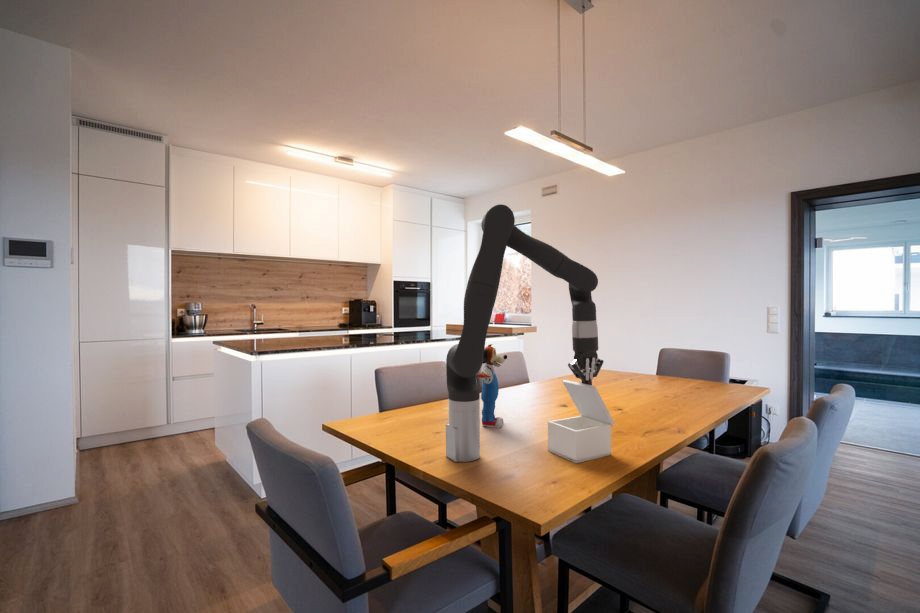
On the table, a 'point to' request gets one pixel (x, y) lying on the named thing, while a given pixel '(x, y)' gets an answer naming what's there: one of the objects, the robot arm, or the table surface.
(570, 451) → the box
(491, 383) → the toy
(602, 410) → the lid
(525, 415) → the table surface
